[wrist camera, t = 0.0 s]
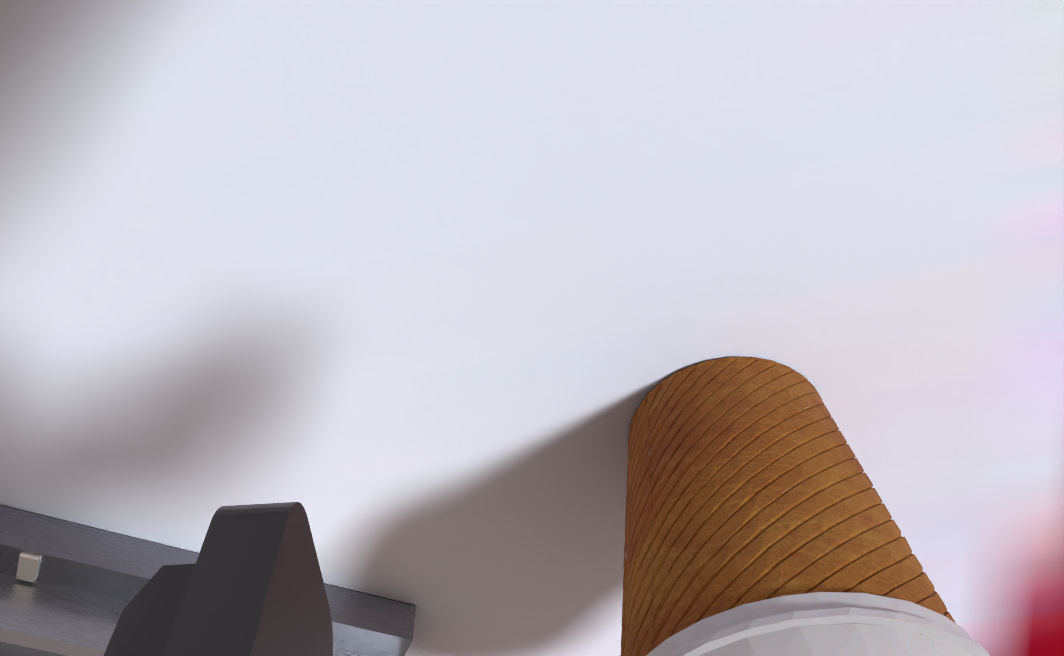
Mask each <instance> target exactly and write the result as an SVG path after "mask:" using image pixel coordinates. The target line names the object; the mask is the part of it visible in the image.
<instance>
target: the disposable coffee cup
mask: <svg viewBox="0 0 1064 656" xmlns="http://www.w3.org/2000/svg"><path fill="white" fill-rule="evenodd" d="M830 417H831V415H830V413H829V411H828V410H827V408H826V406H825V405H824V403H823V401H822V399H821V397H820V395H819V394H818V392H817V390H816V389H815V387H814V386H813V385H812V384H811V383H810V382H809V381H808V380H807V379H806V378H805V377H804V376H803V375H801V374H799V373H798V372H796V371H795V370H793V369H791V368H790V367H788V366H785V365H782V364H780V363H777V362H774V361H771V360H766V359H760V358H755V357H727V358H721V359H715V360H708V361H705V362H702V363H699V364H696V365H693V366H690V367H687V368H685V369H682V370H680V371H678V372H676V373H674V374H673V375H671V376H670V377H668V378H667V379H665V380H664V381H662V382H661V383H659V384H658V385H657V386H656V387H655V388H654V389H652V390H651V391H650V392H649V393H648V394H647V395H646V397H645V398H644V400H643V401H642V403H641V404H640V405H639V407H638V408H637V410H636V411H635V413H634V416H633V418H632V421H631V423H630V428H629V435H628V468H627V496H626V525H625V548H624V553H625V554H624V579H623V604H622V607H623V609H622V636H621V656H991V655H990V654H989V653H988V652H987V651H986V650H985V649H984V648H983V647H982V646H981V645H980V644H979V643H978V642H977V641H975V640H973V639H972V638H971V637H970V636H969V635H968V633H967V632H966V631H965V630H964V629H963V628H962V627H960V626H959V625H957V624H956V623H955V621H954V620H953V618H952V616H951V615H950V613H949V612H947V608H946V606H945V604H944V603H943V601H942V600H941V598H940V596H939V595H938V593H937V592H935V591H934V586H933V584H932V583H931V581H930V580H929V578H928V576H927V575H926V573H924V572H922V566H921V564H920V563H919V561H918V560H917V558H916V556H915V555H914V554H911V553H912V550H911V548H910V546H909V544H908V542H907V540H906V539H905V537H901V531H900V529H899V528H898V526H897V525H896V523H895V521H894V520H891V515H890V513H889V512H888V510H887V508H886V507H885V505H884V504H881V502H882V500H881V498H880V496H879V495H878V493H877V491H876V490H875V488H872V486H873V484H872V482H871V481H870V479H869V478H868V476H867V475H866V473H863V471H864V470H863V468H862V466H861V465H860V463H859V462H858V460H857V458H854V457H855V455H854V453H853V451H852V450H851V448H850V447H849V445H848V444H846V443H847V441H846V440H845V438H844V437H843V435H842V433H841V432H840V431H838V430H839V428H838V427H837V425H836V423H835V422H834V420H833V418H830Z"/></svg>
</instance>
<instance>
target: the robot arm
mask: <svg viewBox="0 0 1064 656" xmlns="http://www.w3.org/2000/svg"><path fill="white" fill-rule="evenodd" d="M103 656H333V629H332V619H331V612H330V608H329V603H328V599H327V595H326V591H325V587H324V583H323V579H322V575H321V571H320V567H319V563H318V559H317V554H316V550H315V546H314V542H313V538H312V534H311V530H310V526H309V522H308V518H307V515H306V512H305V509H304V507H303V506H302V504H301V503H299V502H290V503H272V504H254V505H236V506H222V507H220V508H219V509H218V510H217V511H216V512H215V514H214V516H213V518H212V520H211V523H210V526H209V528H208V531H207V534H206V537H205V540H204V542H203V545H202V548H201V551H200V553H199V556H198V559H197V562H196V564H179V565H163V566H162V567H161V568H160V569H159V570H158V572H157V573H156V574H155V575H154V576H153V577H152V578H151V579H150V580H149V582H148V583H147V584H146V585H145V586H144V587H143V588H142V589H141V590H140V591H139V593H138V594H137V595H136V596H135V597H134V598H133V599H132V600H131V601H130V602H129V604H128V605H127V606H126V607H125V608H124V609H123V610H122V613H121V615H120V618H119V620H118V622H117V625H116V627H115V629H114V632H113V634H112V636H111V639H110V641H109V644H108V646H107V648H106V651H105V653H104V655H103Z"/></svg>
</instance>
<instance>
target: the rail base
mask: <svg viewBox="0 0 1064 656" xmlns="http://www.w3.org/2000/svg"><path fill="white" fill-rule="evenodd" d="M198 556H199V553H195V552H191V551H187V550H183V549H179V548H175V547H170V546H166V545H162V544H158V543H154V542H150V541H146V540H142V539H138V538H133V537H129V536H125V535H121V534H117V533H113V532H109V531H105V530H100V529H96V528H92V527H88V526H84V525H80V524H76V523H72V522H67V521H63V520H59V519H55V518H51V517H47V516H43V515H39V514H34V513H30V512H26V511H22V510H18V509H14V508H10V507H6V506H1V505H0V656H103V655H104V653H105V651H106V648H107V646H108V644H109V641H110V639H111V636H112V634H113V632H114V629H115V627H116V625H117V622H118V620H119V618H120V615H121V613H122V610H123V609H124V608H125V607H126V606H127V605H128V604H129V602H130V601H131V600H132V599H133V598H134V597H135V596H136V595H137V594H138V593H139V591H140V590H141V589H142V588H143V587H144V586H145V585H146V584H147V583H148V582H149V580H150V579H151V578H152V577H153V576H154V575H155V574H156V573H157V572H158V570H159V569H160V568H161V567H162V566H163V565H179V564H196V562H197V559H198ZM324 587H325V591H326V595H327V599H328V603H329V608H330V612H331V619H332V629H333V656H404V654H405V653H406V651H407V649H408V647H409V645H410V644H411V642H412V638H413V627H414V616H415V606H414V605H410V604H405V603H401V602H397V601H393V600H389V599H385V598H381V597H377V596H372V595H368V594H364V593H360V592H356V591H352V590H348V589H344V588H340V587H335V586H331V585H327V584H324Z"/></svg>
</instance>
